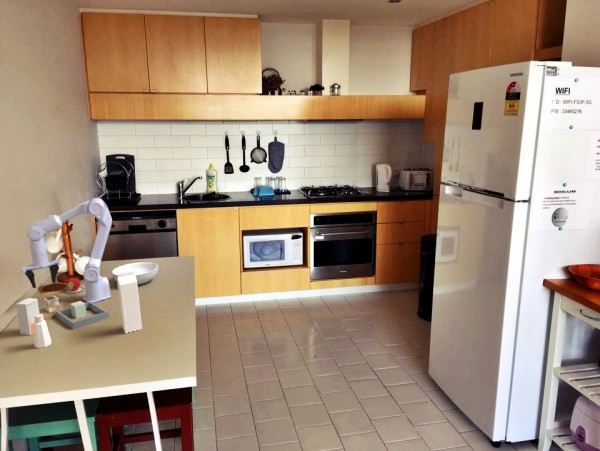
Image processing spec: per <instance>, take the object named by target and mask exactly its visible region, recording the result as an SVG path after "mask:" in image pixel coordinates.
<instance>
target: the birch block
mask: <svg viewBox="0 0 600 451" xmlns="http://www.w3.org/2000/svg"><path fill="white" fill-rule="evenodd" d="M59 302H60V301H59V298H58V296H56V295H52V296H51V295H50V296H47V297H43V303H44V307H45V310H46V311H48V312H49V313H50V312H54V311H57V310H60V307H59Z"/></svg>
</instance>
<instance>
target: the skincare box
mask: <svg viewBox="0 0 600 451" xmlns="http://www.w3.org/2000/svg"><path fill="white" fill-rule="evenodd" d="M38 300H39V299H38V298H31V297H27V298H25V299H23V300H21V301H19V302H17V303H16V304H15V307H16V312H17V319H18V325H19V331H20V335H26V336H31V335H32V334H34V322H35V318H34V316H35V315H37V314H39V308H40V307H39V301H38Z"/></svg>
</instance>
